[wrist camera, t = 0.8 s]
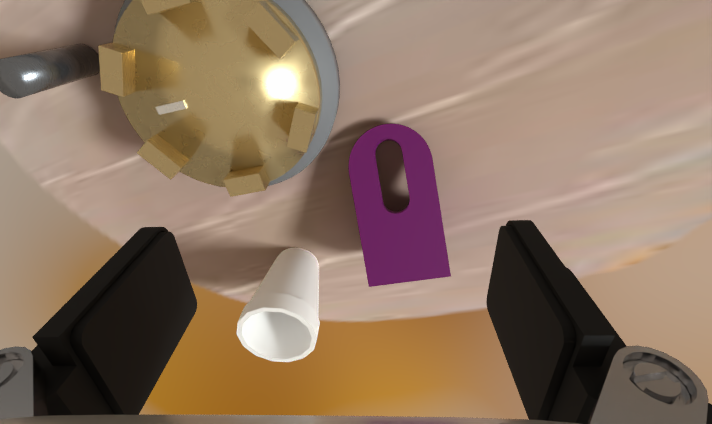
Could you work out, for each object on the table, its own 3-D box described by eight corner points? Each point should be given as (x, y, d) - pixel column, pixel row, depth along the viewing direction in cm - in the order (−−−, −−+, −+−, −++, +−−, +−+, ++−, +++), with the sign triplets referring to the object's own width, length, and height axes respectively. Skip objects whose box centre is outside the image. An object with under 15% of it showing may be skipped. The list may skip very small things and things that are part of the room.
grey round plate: (139, -90, 33) (118, -96, 30) (373, 19, 37) (372, 22, 34) (124, 135, 45) (108, 145, 42) (303, 202, 48) (298, 214, 46)
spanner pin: (70, 38, 39) (-15, 53, 31) (101, 51, 40) (26, 68, 31) (71, 68, 41) (-10, 89, 32) (101, 79, 41) (29, 103, 33)
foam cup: (329, 240, 51) (315, 310, 40) (330, 289, 56) (318, 363, 45) (261, 237, 52) (230, 305, 41) (269, 286, 57) (242, 359, 45)
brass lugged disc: (129, 148, 42) (104, 164, 38) (123, -59, 32) (88, -66, 28) (299, 197, 44) (291, 218, 40) (345, 18, 34) (341, 23, 30)
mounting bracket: (353, 139, 50) (375, 268, 51) (342, 132, 41) (368, 286, 43) (423, 125, 48) (443, 259, 50) (426, 116, 40) (450, 276, 41)
